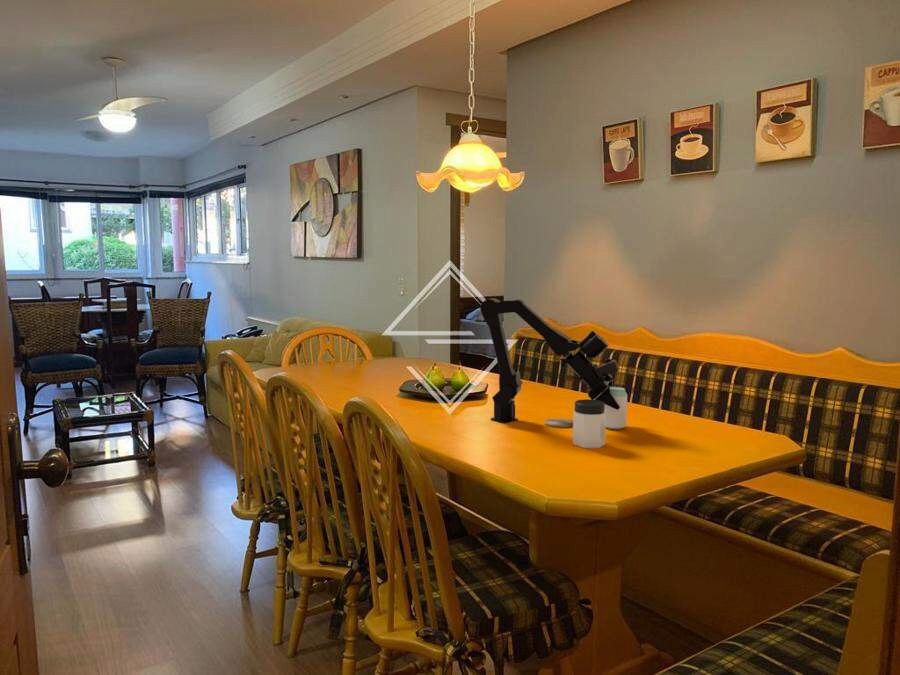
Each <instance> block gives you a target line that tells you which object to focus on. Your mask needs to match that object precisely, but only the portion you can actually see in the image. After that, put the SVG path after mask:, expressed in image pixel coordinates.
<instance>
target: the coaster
mask: <svg viewBox="0 0 900 675" xmlns="http://www.w3.org/2000/svg"><path fill="white" fill-rule="evenodd" d="M544 423H545V424H544V425H545V426H547V425H548V426H547V427H550V426H552V427H551V428H555V427H560V428H559V429H566V428H565V427H570V428H573V419H569V418H558V417H557V418H556V417H555V418H550V419H545V421H544Z"/></svg>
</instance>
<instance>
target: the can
mask: <svg viewBox="0 0 900 675" xmlns="http://www.w3.org/2000/svg"><path fill="white" fill-rule="evenodd" d="M610 393H611V394H612V396H613V397H614V399H615V400H616V402H617V403H618V405H619V406H620V408H619V409H618V410H617V409H615V408H612V407H610V406H608V405H606V404H605V412H606V424H605V429H610V430H622V429H624V428H625V427H627V418H628V416H627V415H628V413H627V412H628V393H627V392H626V388H624V387H621V386H620V387H618V386H613V387H610Z"/></svg>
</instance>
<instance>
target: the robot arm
mask: <svg viewBox="0 0 900 675" xmlns="http://www.w3.org/2000/svg"><path fill="white" fill-rule="evenodd" d="M479 308H480V312H481V315H482V318H483V320H484V322H485V324H486V325H487V327H488V329H489V332H490V335H491V340H492V344H493V348H494V349H493V350H494V354H495V358H496V362H497V366H498V370H499V374H498V387H499V391H497V392H496V393H495V394H494V395H493V396H492V400H493V417H490V420H491V421H495V422H498V423H501V424H506V423H511V422H516V421H519V418H517V417H516V404H515V402H516V401H515V400H514V399H515V398H516V396H517V395H519V393H520V392H521V391H522V385H523V381H522V379H521V372H520V371H518V372H516V371H515V369H514V368H513V365H512V360H511V356H510V351H509V347H508V342H507V339H506V338H507V337H506V335H505V330H504V325H503V323H504V322H503V321H504V314H508V313H510V314H511V313H515V314H516V315H518V316H519V318H521V319H522V320H523V321H524V322H526V324H528V326H529V327H531V328H532V329H533V330H535V332H536V333H538V335H540V336H541V337H542V338H543V339H544V341H545V343H546V344H547V345H548V347H549V348H550V349H551V350H552V352H553V353H554V354H555V355H556V356H565V355H567V354H568V353H569V354H568V355H567V356H565V357H561V358H560V368H564V367H565V366H566V365H568V366H569V367H570V368H571V370H572V371H573V372H574V373H575V374H576V375H577V376H578V379H579V380H580V381H583V383H584V384H586V385H587V388H588V389H587V390H588V393H587V396H588V397H589V399H590V400H599V401H602V402H604V403H605V404H606V405H608V406H610V407H612V408H615V409H617V410H618V409H619V408H620V406H619V405H618V403H617V402H616V400H615V399H614V397H613V396H612V394H611V393H610V387H614V386H613V384H614V383H613V382H614V378H613V376H612V375H611V374H614V373H617V372H619V371H620V368H619V365H618V362H617V360H616V359H612V358H610V357H608V358H606V359H605V360H604V363H602V364H601V365H597V363H592V362H591V360H590V359H591V358H592V359H596V358H597V357H598V356H600V354H602V353H603V352H604V351H605V350H606V349H608V348H609V343H608V342H607V341H606V340H605V339H604V338H603V336H601V335H599V334H598V333H597V332H595V330H591V331H590V332H589V333H588V335H587V336H586V337H585V338H583V339H582V340H575V339H572V338H571V337H569V336H568V335H567V334H565V333H563V332H562V331H561V330H559V329H556V328H554V327H552V326H551V325H550V324H549V323H548V322H546V320H545V319H543V318H542V317H541V316H539V314H537V313H536V312H535V311H534V310H533V309H532V308H531V307H530V306H528V305H527V304H526V303H525V301H524V300H522V299H519V298H518V299H515V300H513V299H511V300H500V299H498V298H495V297H493V298H488V299H484V301H482V303H481V304H480V307H479ZM578 348H580V349H579V350H578ZM577 350H578V351H577ZM573 351H577V352H573Z"/></svg>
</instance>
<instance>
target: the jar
mask: <svg viewBox="0 0 900 675" xmlns="http://www.w3.org/2000/svg"><path fill="white" fill-rule="evenodd" d="M572 412H573V414H572V416H573V417H572V420H573V427H572V445H573V444H574V446H576V445H577V447H579V448H582V449H601V448H602V447H604V446H605V445H606V427H605V424H606V412H605V403H604V402H602V401H599V400H592V399H591V398H589V399H587V398H586V399H579V400H578V399H577V400H575V401H574V411H572Z"/></svg>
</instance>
